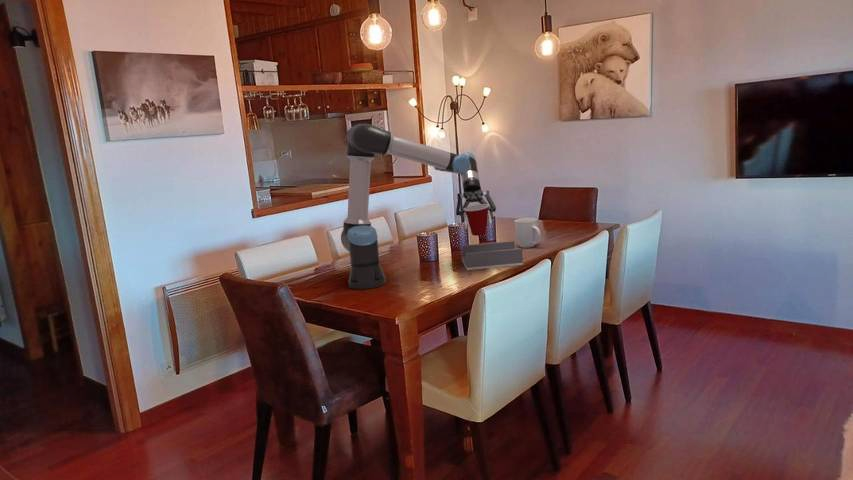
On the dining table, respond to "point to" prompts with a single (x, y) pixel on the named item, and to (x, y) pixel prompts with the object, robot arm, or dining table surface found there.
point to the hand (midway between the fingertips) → (478, 226)
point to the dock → (491, 255)
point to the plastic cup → (477, 218)
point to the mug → (527, 232)
